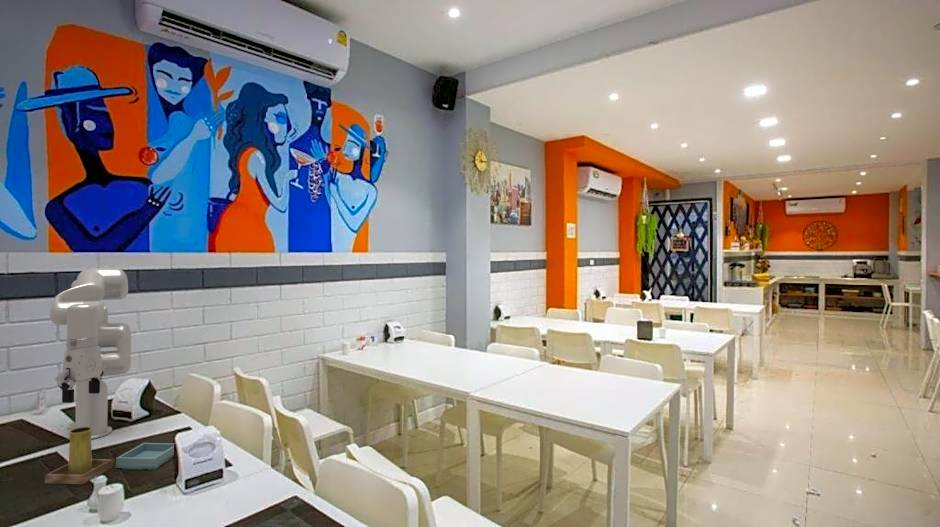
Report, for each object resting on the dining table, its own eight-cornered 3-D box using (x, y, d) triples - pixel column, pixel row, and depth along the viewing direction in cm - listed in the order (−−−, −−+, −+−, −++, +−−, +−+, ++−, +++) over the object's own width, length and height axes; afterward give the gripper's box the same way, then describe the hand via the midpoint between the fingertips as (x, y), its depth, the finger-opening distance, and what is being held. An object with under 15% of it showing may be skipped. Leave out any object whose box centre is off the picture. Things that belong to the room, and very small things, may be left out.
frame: (44, 483, 141) (44, 475, 141) (77, 466, 152) (77, 458, 152) (82, 484, 140) (82, 476, 140) (112, 467, 152) (112, 459, 152)
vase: (78, 480, 143) (78, 434, 143) (62, 478, 144) (62, 432, 144) (97, 471, 149) (98, 427, 149) (82, 469, 150) (82, 425, 150)
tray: (115, 468, 151) (116, 458, 151) (143, 452, 164) (143, 442, 163) (154, 469, 151) (154, 459, 151) (179, 453, 163) (179, 443, 163)
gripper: (70, 348, 137) (69, 406, 137) (115, 338, 155) (114, 390, 155) (45, 348, 137) (44, 406, 137) (93, 338, 155) (92, 389, 155)
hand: (81, 397), depth 146 cm, fingers open, 9 cm apart
